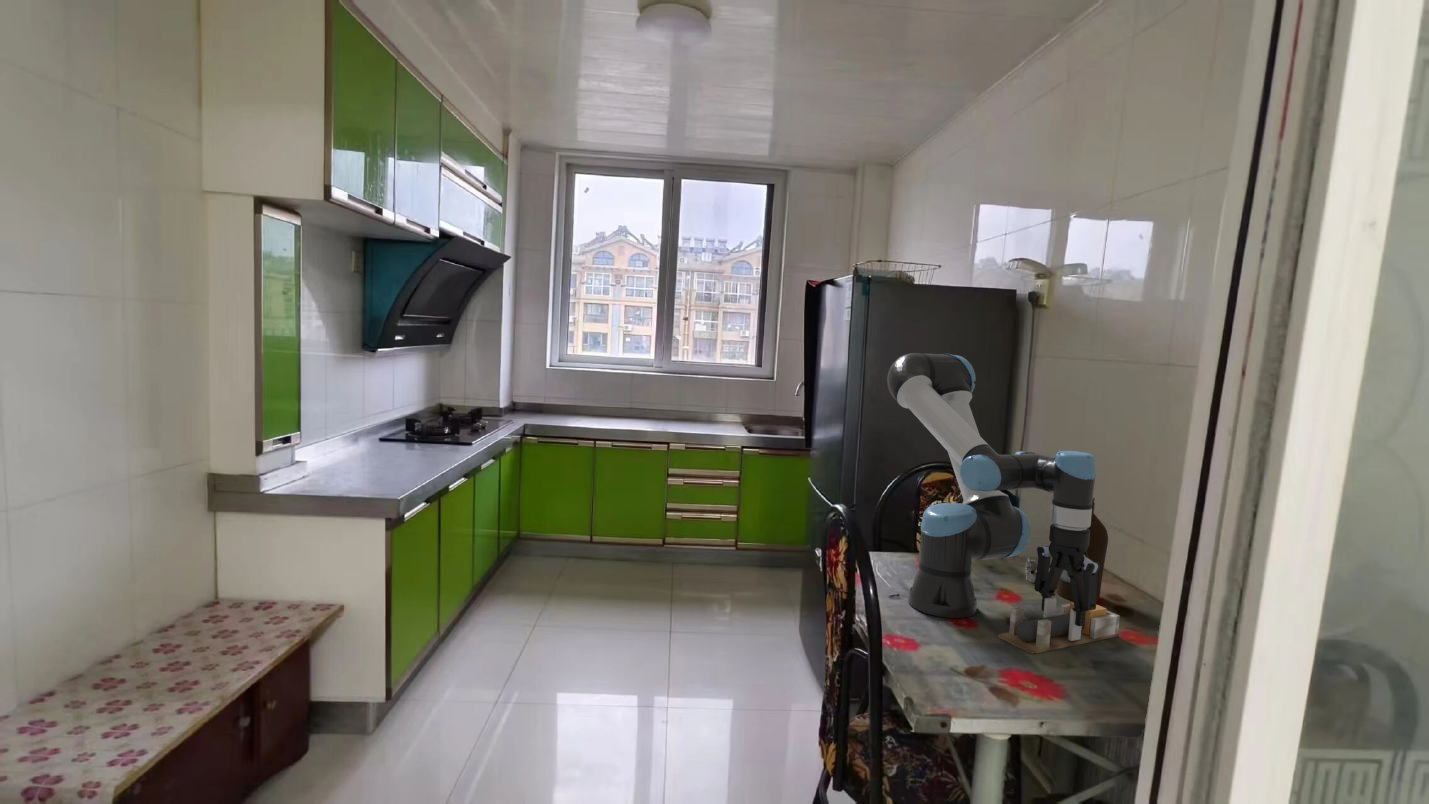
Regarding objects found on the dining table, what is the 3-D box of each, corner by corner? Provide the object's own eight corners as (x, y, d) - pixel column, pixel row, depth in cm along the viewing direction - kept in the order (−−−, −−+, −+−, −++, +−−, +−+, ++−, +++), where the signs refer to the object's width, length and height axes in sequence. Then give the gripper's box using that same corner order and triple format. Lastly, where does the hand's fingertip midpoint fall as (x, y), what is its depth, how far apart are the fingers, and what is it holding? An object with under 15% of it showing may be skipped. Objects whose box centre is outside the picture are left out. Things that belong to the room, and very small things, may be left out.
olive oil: (1078, 587, 185) (1087, 491, 182) (1112, 602, 175) (1122, 501, 172) (1044, 589, 182) (1053, 492, 179) (1077, 605, 172) (1087, 502, 169)
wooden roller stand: (1031, 654, 143) (1034, 625, 143) (997, 637, 151) (1000, 609, 151) (1118, 636, 155) (1121, 609, 154) (1083, 620, 162) (1085, 595, 162)
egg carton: (1025, 570, 197) (1027, 556, 197) (1056, 576, 194) (1057, 561, 194) (1022, 581, 188) (1024, 566, 188) (1054, 587, 185) (1055, 572, 184)
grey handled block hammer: (1029, 647, 145) (1031, 622, 145) (1009, 637, 150) (1011, 613, 149) (1104, 632, 155) (1106, 608, 154) (1083, 623, 159) (1085, 600, 159)
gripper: (1124, 536, 144) (1113, 648, 146) (1045, 514, 160) (1037, 615, 162) (1098, 539, 140) (1088, 654, 142) (1020, 516, 157) (1012, 619, 159)
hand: (1061, 633), depth 152 cm, fingers open, 6 cm apart
